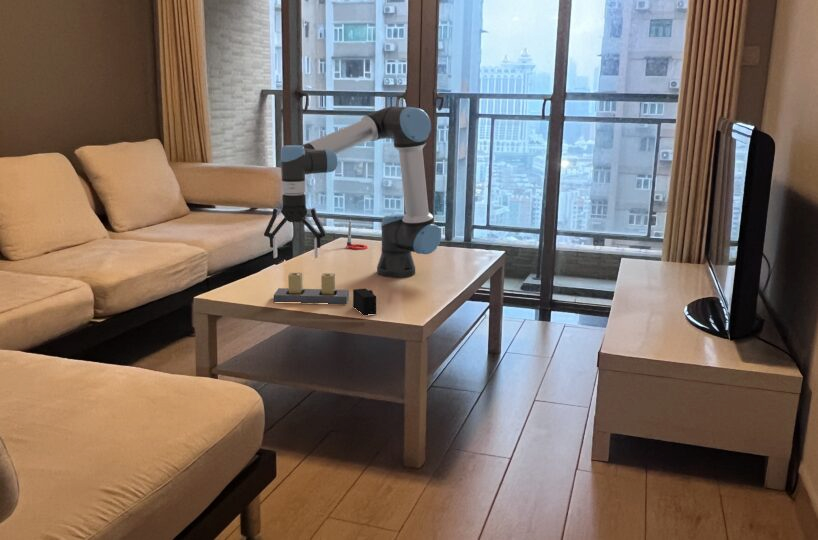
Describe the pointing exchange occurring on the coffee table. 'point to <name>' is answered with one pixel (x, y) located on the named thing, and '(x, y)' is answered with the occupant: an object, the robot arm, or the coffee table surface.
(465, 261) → the coffee table surface
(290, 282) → the tan tall block
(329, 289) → the beige upright block
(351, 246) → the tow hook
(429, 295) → the coffee table surface
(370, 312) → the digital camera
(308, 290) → the rail
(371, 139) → the robot arm
